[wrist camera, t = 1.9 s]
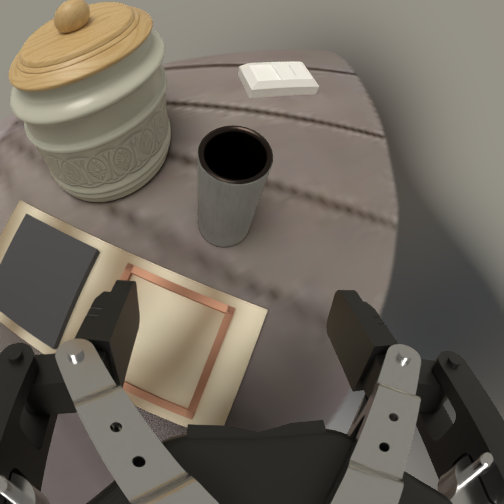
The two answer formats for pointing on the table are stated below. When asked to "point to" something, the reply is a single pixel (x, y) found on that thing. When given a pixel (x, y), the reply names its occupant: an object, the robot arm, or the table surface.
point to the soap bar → (276, 79)
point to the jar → (94, 98)
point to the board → (163, 331)
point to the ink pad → (43, 278)
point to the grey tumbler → (230, 182)
